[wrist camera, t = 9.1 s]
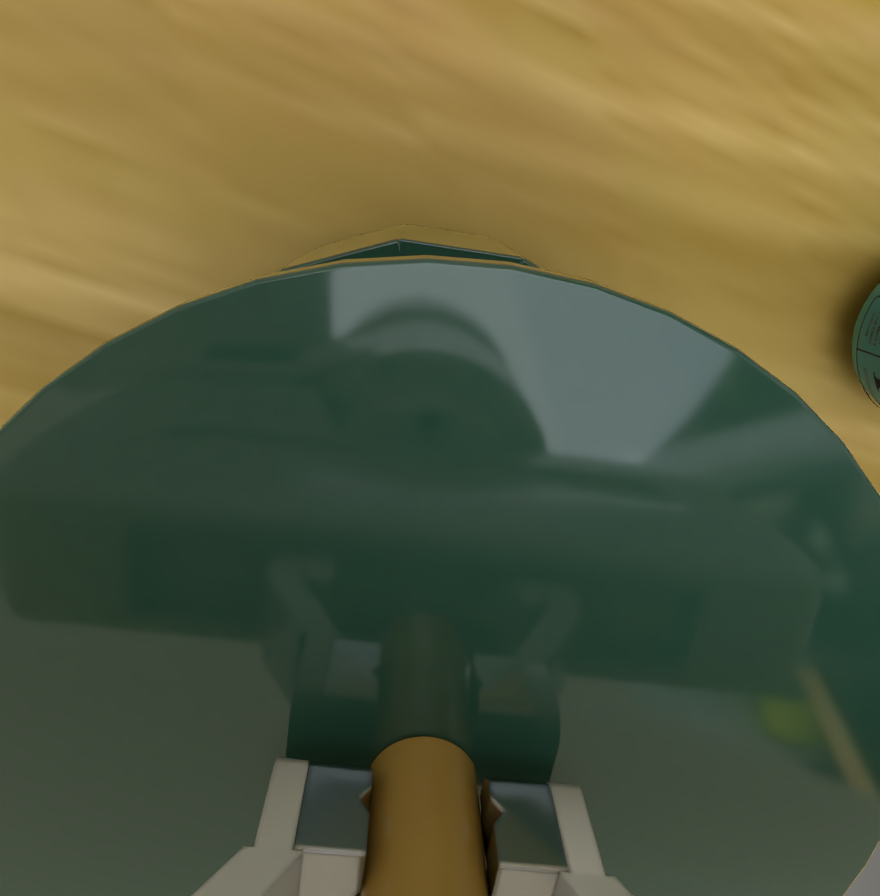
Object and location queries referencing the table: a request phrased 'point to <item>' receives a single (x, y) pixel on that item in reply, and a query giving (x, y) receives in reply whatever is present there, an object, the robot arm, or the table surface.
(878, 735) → the lid
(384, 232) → the pot
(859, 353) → the beverage bottle
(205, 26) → the table surface
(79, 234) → the table surface
